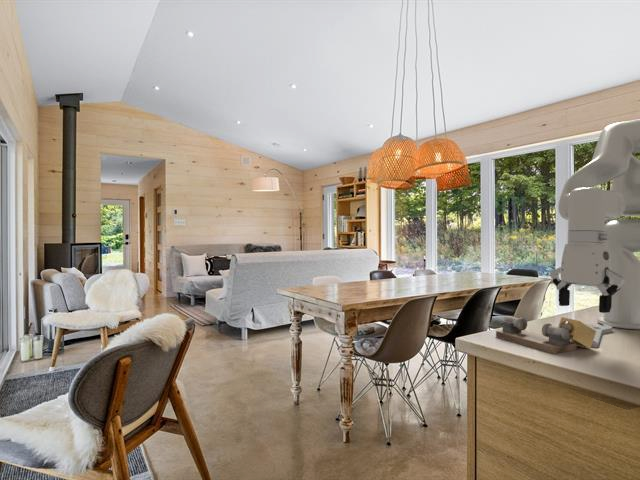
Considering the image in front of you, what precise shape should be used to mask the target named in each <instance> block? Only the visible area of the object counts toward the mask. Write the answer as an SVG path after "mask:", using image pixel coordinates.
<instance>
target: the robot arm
mask: <svg viewBox="0 0 640 480" xmlns="http://www.w3.org/2000/svg"><path fill="white" fill-rule="evenodd" d="M595 146H596V147H595V149H594V153H593V154H592V158H591V161H590V162H588V163H587V164H585V165H584V166H582V167H581V168H580V169H578V170H577V171H576V172H574V173H573V174H572V175H570V177H568V179H567V180H566V181H565V183H564V186H563V188H562V190H561V193H560V197H559V200H558V206H557V207H558V213H559V215H560V217H561V218H563V219H564V220H565V221H567V223H568V224H567V243H566V244H565V245H564V248H563V252H562V256H561V265H560V267H557V268H556V269H553V270H551V271H549V275H550V278H551V280H552V283H553V284H554V285H555V286H556V290H558V306H561V307H565V306H566V307H567V306H568V307H569V306H570V304H571V303H570V301H571V290H570V289H569V288H570V287H571V286H572V285H578V286H587V287H595V288H597V289H598V290H599V292H600V295H599V298H598V299H599V300H598V312H599V313H601V314H603V316H600V317H599V316H598V317H597V319H596V321H597V323H598V324H600V325H602V326H603V325H608V326H611V327H613V328H619V329H627V330H640V259H639V258H638V256H636V255H635V254H634V253H640V219H619V218H620V217H640V159H639V158H637V157H636V156H635V155H633V154H639V153H640V118H639V119H638V118H637V119H632V120H625V121H620V122H615V123H612V124H609V125H607V126H606V127H604V128H603V129H602V130H601V132H600V135H598V141H597V142H596V145H595ZM610 181H611V189H608V190H607V189H606V190H604V189H602V188H600V187H597V186H601V185H602V184H605V183H608V182H610ZM606 221H608V222H607V223H606ZM559 275H560V276H559Z"/></svg>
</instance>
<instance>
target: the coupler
mask: <svg viewBox="0 0 640 480" xmlns="http://www.w3.org/2000/svg"><path fill="white" fill-rule="evenodd" d="M557 327H559V328H563V329H567V330H568V331H569V333H570V342H573V343H577V344H576V346H577V347H578V346H579V347H583V348H586V349H589V350H590V349H591V348H592V347H591V345H592V342H593V340H594V337H595V334H596V331H595V330H593V329H592V328H590V327H588V326H587V325H586V323H584V322H582V321H580V320H576V319H572V318H568V317H563V316H561V317H560V321H559V323H558V326H557Z"/></svg>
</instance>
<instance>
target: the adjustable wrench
mask: <svg viewBox="0 0 640 480" xmlns="http://www.w3.org/2000/svg"><path fill="white" fill-rule="evenodd" d="M585 325H587V326H588V327H590V328H592V329H593V330H595V331H596V334H595V337H594V340H593V342H592V345H591V348H598V347H599V344H600V341H601V339H602V336H603V335H604V334H605V335H606V334H610V333H613V332H614V330H613V328H614V327H611V326H608V325H603V324H602V326H599V325H598V326H597V325H594V324H593V323H585Z"/></svg>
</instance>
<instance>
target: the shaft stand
mask: <svg viewBox="0 0 640 480" xmlns="http://www.w3.org/2000/svg"><path fill="white" fill-rule="evenodd" d="M527 328H528V320H527V319H526V318H525V317H519V318H517V317H515V316H514V317H513V316H511V315H510V316H509V315H506V316H505V317H504V318H503V321H502V330H496V333H495V334H496V335H495V336H496V338H499V339H503V340H505V341H509V342H512V343H517V344H519V345H522V344H523V346H527V347H530V348H533V349H537V350H540V351H544V352H547V353H551V354H554V355H555V354H559V353H566V352H570V351H576V350H577V345H576V344H577V343H573V342H570V333H569V331H568V330H567V329H563V328H559V327H558V326H553V325H552V324H551V323H548V322H546V323H543V325H542V327H541V333H542V334H541V333H538V332H532V331H529V330H526V329H527Z"/></svg>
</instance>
